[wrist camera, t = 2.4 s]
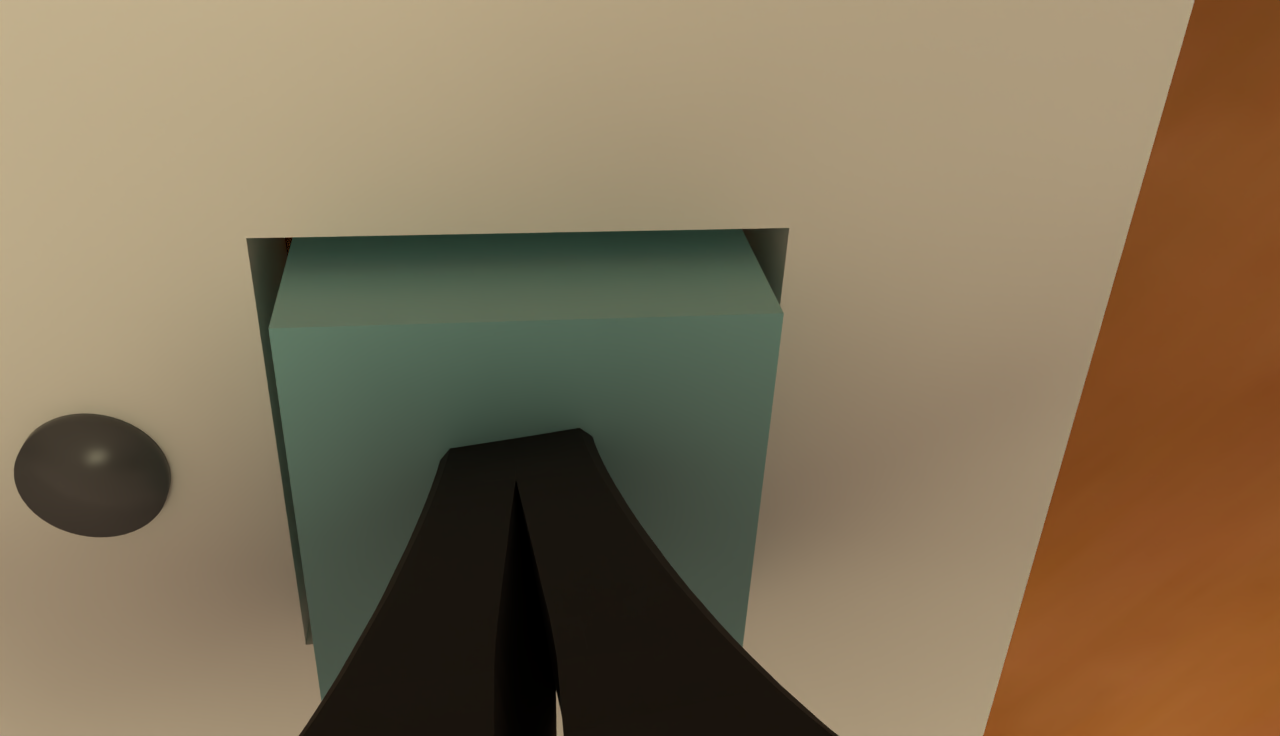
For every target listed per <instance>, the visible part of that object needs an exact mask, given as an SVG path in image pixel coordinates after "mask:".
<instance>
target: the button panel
mask: <svg viewBox="0 0 1280 736" xmlns="http://www.w3.org/2000/svg"><path fill="white" fill-rule="evenodd" d="M1193 4H1194V0H0V736H299V735H300V733H301V732H302V730H303V729H304V727H305V726H306V724H307V723H308V721H309V720H310V718H311V717H312V715H313V714H314V712H315V711H316V709H317V708H318V706H319V705H320V703H321V695H320V688H319V681H318V674H317V667H316V660H315V653H314V646H313V639H312V632H311V624H310V617H309V610H308V603H307V596H306V589H305V582H304V575H303V568H302V561H301V554H300V547H299V540H298V533H297V526H296V519H295V512H294V505H293V498H292V491H291V484H290V477H289V470H288V463H287V456H286V449H285V442H284V435H283V428H282V420H281V413H280V406H279V399H278V392H277V385H276V378H275V371H274V364H273V357H272V350H271V343H270V336H269V329H268V328H269V324H270V321H271V317H272V313H273V309H274V306H275V302H276V298H277V294H278V291H279V287H280V283H281V279H282V276H283V272H284V268H285V264H286V261H287V249H286V241H285V237H336V236H389V235H442V234H495V233H548V232H601V231H654V230H707V229H742V230H743V232H744V234H745V236H746V238H747V240H748V242H749V244H750V246H751V248H752V250H753V252H754V254H755V256H756V258H757V260H758V262H759V264H760V266H761V268H762V271H763V273H764V275H765V277H766V279H767V281H768V283H769V285H770V287H771V289H772V291H773V293H774V295H775V297H776V299H777V301H778V303H779V305H780V307H781V309H782V311H783V313H784V316H783V324H782V332H781V340H780V348H779V356H778V365H777V373H776V381H775V389H774V397H773V405H772V413H771V421H770V429H769V438H768V446H767V454H766V462H765V470H764V478H763V486H762V494H761V503H760V511H759V519H758V527H757V535H756V543H755V551H754V559H753V568H752V576H751V584H750V592H749V600H748V608H747V616H746V624H745V632H744V641H743V648H744V649H745V650H746V651H747V652H748V653H749V654H750V655H751V656H752V657H753V658H754V659H755V660H756V661H757V662H758V663H759V664H760V665H761V666H762V667H763V668H764V669H765V670H766V671H767V672H768V673H769V674H770V675H771V676H772V677H773V678H774V679H775V680H776V681H777V682H778V683H779V684H780V685H781V686H782V687H784V688H785V689H786V690H787V691H788V692H789V693H790V694H791V695H792V696H794V697H795V698H796V699H797V700H798V701H799V702H800V703H801V704H803V705H804V706H805V707H806V708H807V709H808V710H809V711H810V712H811V713H813V714H814V715H815V716H816V717H817V718H818V719H819V720H820V721H822V722H823V723H824V724H825V725H826V726H827V727H829V728H830V729H831V730H832V731H834V732H835V733H836V734H837V735H839V736H983V734H984V731H985V727H986V724H987V720H988V717H989V713H990V710H991V706H992V703H993V699H994V696H995V692H996V689H997V685H998V682H999V678H1000V675H1001V672H1002V668H1003V665H1004V661H1005V658H1006V654H1007V651H1008V647H1009V644H1010V640H1011V637H1012V633H1013V630H1014V626H1015V623H1016V619H1017V616H1018V612H1019V609H1020V605H1021V602H1022V598H1023V595H1024V592H1025V588H1026V585H1027V581H1028V578H1029V574H1030V571H1031V567H1032V564H1033V560H1034V557H1035V553H1036V550H1037V546H1038V543H1039V539H1040V536H1041V532H1042V529H1043V525H1044V522H1045V519H1046V515H1047V512H1048V508H1049V505H1050V501H1051V498H1052V494H1053V491H1054V487H1055V484H1056V480H1057V477H1058V473H1059V470H1060V466H1061V463H1062V459H1063V456H1064V452H1065V449H1066V445H1067V442H1068V439H1069V435H1070V432H1071V428H1072V425H1073V421H1074V418H1075V414H1076V411H1077V407H1078V404H1079V400H1080V397H1081V393H1082V390H1083V386H1084V383H1085V379H1086V376H1087V372H1088V369H1089V366H1090V362H1091V359H1092V355H1093V352H1094V348H1095V345H1096V341H1097V338H1098V334H1099V331H1100V327H1101V324H1102V320H1103V317H1104V313H1105V310H1106V306H1107V303H1108V299H1109V296H1110V292H1111V289H1112V286H1113V282H1114V279H1115V275H1116V272H1117V268H1118V265H1119V261H1120V258H1121V254H1122V251H1123V247H1124V244H1125V240H1126V237H1127V233H1128V230H1129V226H1130V223H1131V219H1132V216H1133V213H1134V209H1135V206H1136V202H1137V199H1138V195H1139V192H1140V188H1141V185H1142V181H1143V178H1144V174H1145V171H1146V167H1147V164H1148V160H1149V157H1150V153H1151V150H1152V146H1153V143H1154V140H1155V136H1156V133H1157V129H1158V126H1159V122H1160V119H1161V115H1162V112H1163V108H1164V105H1165V101H1166V98H1167V94H1168V91H1169V87H1170V84H1171V80H1172V77H1173V73H1174V70H1175V66H1176V63H1177V60H1178V56H1179V53H1180V49H1181V46H1182V42H1183V39H1184V35H1185V32H1186V28H1187V25H1188V21H1189V18H1190V14H1191V11H1192V7H1193ZM556 723H557V736H564V735H563V723H562V715H561V710H560V706H559V701H558V696H557V692H556Z"/></svg>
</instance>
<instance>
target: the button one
mask: <svg viewBox="0 0 1280 736" xmlns="http://www.w3.org/2000/svg"><path fill="white" fill-rule="evenodd" d="M783 316H784V313H783V311H782V309H781V307H780V305H779V303H778V301H777V299H776V297H775V295H774V293H773V291H772V289H771V287H770V285H769V283H768V281H767V279H766V277H765V275H764V273H763V271H762V268H761V266H760V264H759V262H758V260H757V258H756V256H755V254H754V252H753V250H752V248H751V246H750V244H749V242H748V240H747V238H746V236H745V234H744V232H743V230H742V229H707V230H654V231H601V232H548V233H495V234H442V235H389V236H336V237H293V238H292V242H291V246H290V249H289V253H288V257H287V261H286V264H285V268H284V272H283V276H282V279H281V283H280V287H279V291H278V294H277V298H276V302H275V306H274V309H273V313H272V317H271V321H270V324H269V328H268V329H269V336H270V343H271V350H272V357H273V364H274V371H275V378H276V385H277V392H278V399H279V406H280V413H281V420H282V428H283V435H284V442H285V449H286V456H287V463H288V470H289V477H290V484H291V491H292V498H293V505H294V512H295V519H296V526H297V533H298V540H299V547H300V554H301V561H302V568H303V575H304V582H305V589H306V596H307V603H308V610H309V617H310V624H311V632H312V639H313V646H314V653H315V660H316V667H317V674H318V681H319V688H320V695H321V701H322V700H323V698H324V697H325V695H326V694H327V692H328V690H329V689H330V687H331V686H332V684H333V682H334V681H335V679H336V678H337V676H338V674H339V673H340V671H341V669H342V667H343V666H344V664H345V662H346V660H347V659H348V657H349V655H350V653H351V652H352V650H353V648H354V646H355V645H356V643H357V641H358V639H359V638H360V636H361V634H362V632H363V631H364V629H365V627H366V625H367V624H368V622H369V620H370V618H371V617H372V615H373V613H374V611H375V609H376V607H377V605H378V604H379V602H380V600H381V598H382V596H383V594H384V592H385V590H386V588H387V586H388V584H389V581H390V579H391V577H392V575H393V573H394V571H395V569H396V567H397V565H398V563H399V561H400V559H401V557H402V555H403V553H404V551H405V549H406V547H407V544H408V542H409V540H410V538H411V535H412V533H413V531H414V528H415V526H416V524H417V521H418V519H419V517H420V514H421V512H422V510H423V507H424V505H425V502H426V500H427V497H428V494H429V492H430V489H431V486H432V483H433V481H434V478H435V475H436V472H437V469H438V465H439V462H440V460H441V459H442V457H443V456H444V455H445V454H446V453H447V451H448V450H449V449H450V448H456V447H463V446H469V445H475V444H482V443H488V442H494V441H501V440H507V439H514V438H520V437H526V436H533V435H539V434H545V433H551V432H557V431H563V430H569V429H576V428H581V429H582V430H584V431H585V432H587V433H588V434H590V435H591V436H593V439H594V442H595V445H596V448H597V450H598V452H599V455H600V457H601V459H602V461H603V463H604V465H605V467H606V469H607V471H608V473H609V474H610V476H611V478H612V480H613V482H614V483H615V485H616V487H617V488H618V490H619V491H620V493H621V495H622V496H623V498H624V500H625V501H626V503H627V504H628V506H629V508H630V509H631V511H632V512H633V514H634V515H635V517H636V518H637V520H638V521H639V522H640V524H641V525H642V527H643V528H644V530H645V531H646V532H647V534H648V535H649V536H650V538H651V539H652V540H653V542H654V543H655V544H656V546H657V547H658V548H659V550H660V551H661V553H662V554H663V555H664V557H665V558H666V559H667V561H668V562H669V563H670V565H671V566H672V567H673V568H674V570H675V571H676V572H677V573H678V575H679V576H680V577H681V578H682V580H683V581H684V582H685V583H686V585H687V586H688V587H689V588H690V589H691V591H692V592H693V593H694V594H695V595H696V596H697V598H698V599H699V600H700V601H701V602H702V603H703V604H704V606H705V607H706V608H707V609H708V610H709V611H710V613H711V614H712V615H713V616H714V617H715V618H716V619H717V621H718V622H719V623H720V624H721V625H722V626H723V627H724V628H725V629H726V630H727V631H728V632H729V634H730V635H731V636H732V637H733V638H734V639H735V640H736V641H737V642H738V643H739V644H740V645H741V646H742V647H743V641H744V632H745V624H746V616H747V608H748V600H749V592H750V584H751V576H752V568H753V559H754V551H755V543H756V535H757V527H758V519H759V511H760V503H761V494H762V486H763V478H764V470H765V462H766V454H767V446H768V438H769V429H770V421H771V413H772V405H773V397H774V389H775V381H776V373H777V365H778V356H779V348H780V340H781V332H782V324H783Z"/></svg>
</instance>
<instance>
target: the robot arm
mask: <svg viewBox="0 0 1280 736" xmlns="http://www.w3.org/2000/svg"><path fill="white" fill-rule="evenodd" d="M556 692H557V696H558V701H559V706H560V710H561V715H562V723H563V735H564V736H839V735H837V734H836V733H835V732H834V731H832V730H831V729H830V728H829V727H827V726H826V725H825V724H824V723H823V722H822V721H820V720H819V719H818V718H817V717H816V716H815V715H814V714H813V713H811V712H810V711H809V710H808V709H807V708H806V707H805V706H804V705H803V704H801V703H800V702H799V701H798V700H797V699H796V698H795V697H794V696H792V695H791V694H790V693H789V692H788V691H787V690H786V689H785V688H784V687H782V686H781V685H780V684H779V683H778V682H777V681H776V680H775V679H774V678H773V677H772V676H771V675H770V674H769V673H768V672H767V671H766V670H765V669H764V668H763V667H762V666H761V665H760V664H759V663H758V662H757V661H756V660H755V659H754V658H753V657H752V656H751V655H750V654H749V653H748V652H747V651H746V650H745V649H744V648H743V647H742V646H741V645H740V644H739V643H738V642H737V641H736V640H735V639H734V638H733V637H732V636H731V635H730V634H729V632H728V631H727V630H726V629H725V628H724V627H723V626H722V625H721V624H720V623H719V622H718V621H717V619H716V618H715V617H714V616H713V615H712V614H711V613H710V611H709V610H708V609H707V608H706V607H705V606H704V604H703V603H702V602H701V601H700V600H699V599H698V598H697V596H696V595H695V594H694V593H693V592H692V591H691V589H690V588H689V587H688V586H687V585H686V583H685V582H684V581H683V580H682V578H681V577H680V576H679V575H678V573H677V572H676V571H675V570H674V568H673V567H672V566H671V565H670V563H669V562H668V561H667V559H666V558H665V557H664V555H663V554H662V553H661V551H660V550H659V548H658V547H657V546H656V544H655V543H654V542H653V540H652V539H651V538H650V536H649V535H648V534H647V532H646V531H645V530H644V528H643V527H642V525H641V524H640V522H639V521H638V520H637V518H636V517H635V515H634V514H633V512H632V511H631V509H630V508H629V506H628V504H627V503H626V501H625V500H624V498H623V496H622V495H621V493H620V491H619V490H618V488H617V487H616V485H615V483H614V482H613V480H612V478H611V476H610V474H609V473H608V471H607V469H606V467H605V465H604V463H603V461H602V459H601V457H600V455H599V452H598V450H597V448H596V445H595V442H594V439H593V436H591V435H590V434H588V433H587V432H585V431H584V430H582V429H581V428H576V429H569V430H563V431H557V432H551V433H545V434H539V435H533V436H526V437H520V438H514V439H507V440H501V441H494V442H488V443H482V444H475V445H469V446H463V447H456V448H450V449H449V450H448V451H447V453H446V454H445V455H444V456H443V457H442V459H441V460H440V462H439V465H438V469H437V472H436V475H435V478H434V481H433V483H432V486H431V489H430V492H429V494H428V497H427V500H426V502H425V505H424V507H423V510H422V512H421V514H420V517H419V519H418V521H417V524H416V526H415V528H414V531H413V533H412V535H411V538H410V540H409V542H408V544H407V547H406V549H405V551H404V553H403V555H402V557H401V559H400V561H399V563H398V565H397V567H396V569H395V571H394V573H393V575H392V577H391V579H390V581H389V584H388V586H387V588H386V590H385V592H384V594H383V596H382V598H381V600H380V602H379V604H378V605H377V607H376V609H375V611H374V613H373V615H372V617H371V618H370V620H369V622H368V624H367V625H366V627H365V629H364V631H363V632H362V634H361V636H360V638H359V639H358V641H357V643H356V645H355V646H354V648H353V650H352V652H351V653H350V655H349V657H348V659H347V660H346V662H345V664H344V666H343V667H342V669H341V671H340V673H339V674H338V676H337V678H336V679H335V681H334V682H333V684H332V686H331V687H330V689H329V690H328V692H327V694H326V695H325V697H324V698H323V700H322V701H321V703H320V705H319V706H318V708H317V709H316V711H315V712H314V714H313V715H312V717H311V718H310V720H309V721H308V723H307V724H306V726H305V727H304V729H303V730H302V732H301V733H300V735H299V736H557V723H556Z"/></svg>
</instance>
